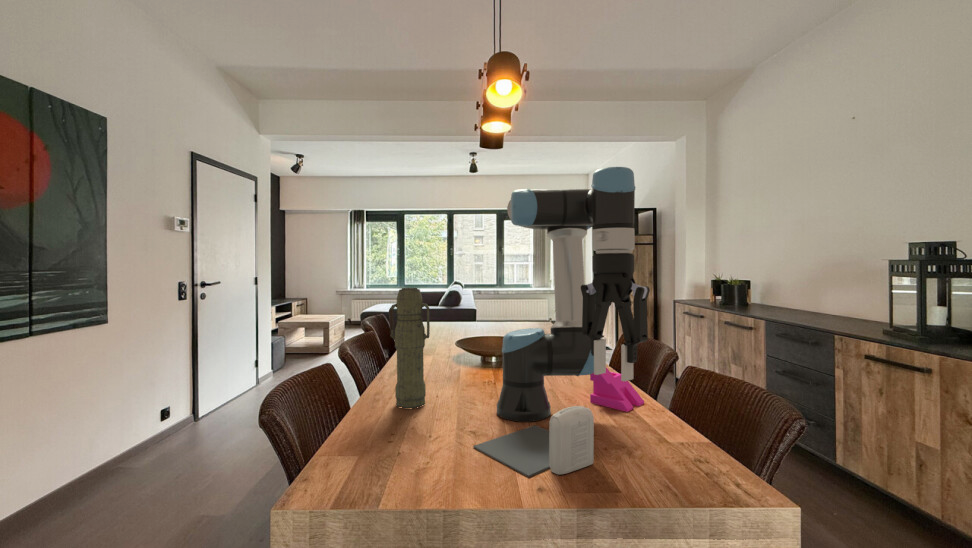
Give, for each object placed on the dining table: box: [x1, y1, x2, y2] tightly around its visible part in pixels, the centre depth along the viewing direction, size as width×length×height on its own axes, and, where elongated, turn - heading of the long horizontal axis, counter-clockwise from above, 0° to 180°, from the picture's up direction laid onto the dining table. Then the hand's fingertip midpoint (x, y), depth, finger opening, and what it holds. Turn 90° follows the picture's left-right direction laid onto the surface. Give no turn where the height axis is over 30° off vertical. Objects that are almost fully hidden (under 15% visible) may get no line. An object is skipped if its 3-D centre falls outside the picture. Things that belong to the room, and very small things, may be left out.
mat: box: [472, 424, 551, 478], centre depth 98 cm, size 18×20×1 cm
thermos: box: [388, 287, 431, 409], centre depth 129 cm, size 9×12×35 cm
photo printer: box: [548, 405, 595, 476], centre depth 89 cm, size 10×4×12 cm, turn 123°
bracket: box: [589, 366, 645, 413], centre depth 130 cm, size 12×10×10 cm
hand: (613, 376), depth 81 cm, fingers open, 5 cm apart
